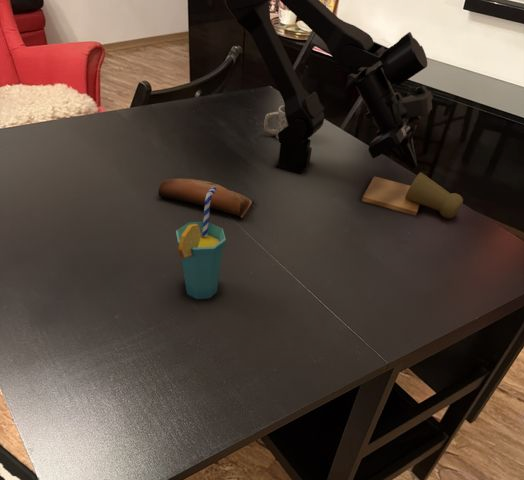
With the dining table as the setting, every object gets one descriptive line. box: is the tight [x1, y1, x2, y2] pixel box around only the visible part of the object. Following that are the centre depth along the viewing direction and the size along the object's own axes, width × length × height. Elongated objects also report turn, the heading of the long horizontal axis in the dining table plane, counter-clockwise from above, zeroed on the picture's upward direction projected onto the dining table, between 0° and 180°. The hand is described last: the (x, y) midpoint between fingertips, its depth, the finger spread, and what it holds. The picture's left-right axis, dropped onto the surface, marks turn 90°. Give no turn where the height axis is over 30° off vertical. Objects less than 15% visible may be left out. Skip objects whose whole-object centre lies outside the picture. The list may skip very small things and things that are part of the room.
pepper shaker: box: [405, 171, 464, 219], centre depth 102 cm, size 6×6×11 cm
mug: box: [263, 104, 288, 140], centre depth 122 cm, size 10×7×7 cm, turn 98°
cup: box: [175, 187, 227, 300], centre depth 75 cm, size 14×8×15 cm, turn 170°
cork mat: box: [361, 176, 421, 217], centre depth 107 cm, size 12×11×1 cm
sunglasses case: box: [158, 178, 253, 219], centre depth 98 cm, size 18×7×7 cm
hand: (414, 167), depth 101 cm, fingers closed
